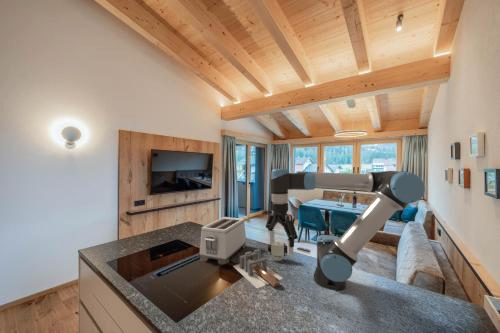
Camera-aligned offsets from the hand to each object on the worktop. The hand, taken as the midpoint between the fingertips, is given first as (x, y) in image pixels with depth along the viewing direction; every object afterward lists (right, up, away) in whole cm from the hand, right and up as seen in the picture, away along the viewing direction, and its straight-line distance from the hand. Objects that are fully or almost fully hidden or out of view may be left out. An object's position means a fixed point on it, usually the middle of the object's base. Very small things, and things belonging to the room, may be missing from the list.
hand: (280, 248), depth 95 cm
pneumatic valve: (+3, -21, +32) cm, 38 cm away
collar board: (-11, -21, +18) cm, 29 cm away
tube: (-6, -20, +11) cm, 24 cm away
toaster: (-32, -21, +45) cm, 59 cm away
